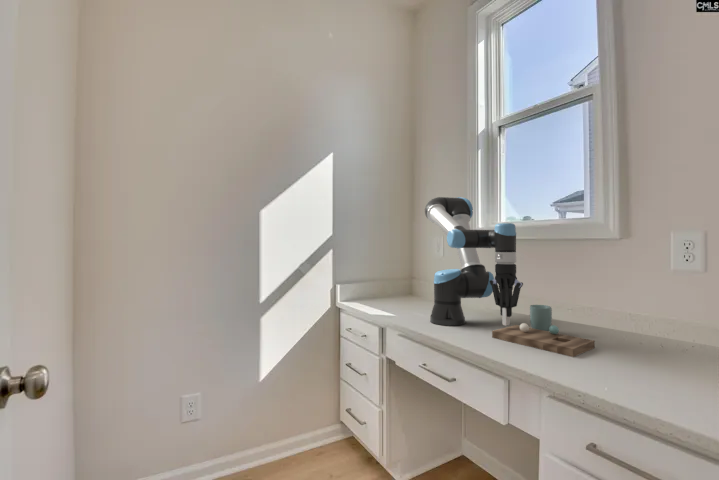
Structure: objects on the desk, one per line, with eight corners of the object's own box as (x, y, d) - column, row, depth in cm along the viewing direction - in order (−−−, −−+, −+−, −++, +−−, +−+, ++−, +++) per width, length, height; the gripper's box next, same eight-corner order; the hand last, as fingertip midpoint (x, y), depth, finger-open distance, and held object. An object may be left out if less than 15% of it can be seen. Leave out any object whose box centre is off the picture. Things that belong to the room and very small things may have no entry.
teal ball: (547, 333, 127) (547, 325, 127) (551, 332, 129) (551, 323, 129) (556, 335, 124) (556, 326, 124) (560, 334, 126) (560, 325, 126)
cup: (554, 334, 136) (554, 308, 136) (533, 333, 138) (532, 307, 138) (548, 329, 144) (548, 305, 144) (527, 328, 145) (527, 304, 145)
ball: (517, 331, 130) (517, 323, 130) (522, 330, 132) (522, 321, 132) (526, 333, 127) (526, 324, 128) (530, 332, 129) (530, 323, 129)
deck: (492, 337, 131) (492, 330, 131) (515, 331, 141) (515, 325, 141) (573, 357, 109) (573, 348, 109) (594, 348, 118) (594, 340, 118)
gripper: (484, 263, 139) (485, 323, 138) (516, 264, 128) (516, 329, 128) (496, 262, 143) (496, 320, 143) (527, 263, 133) (527, 326, 132)
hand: (506, 324), depth 135 cm, fingers closed
